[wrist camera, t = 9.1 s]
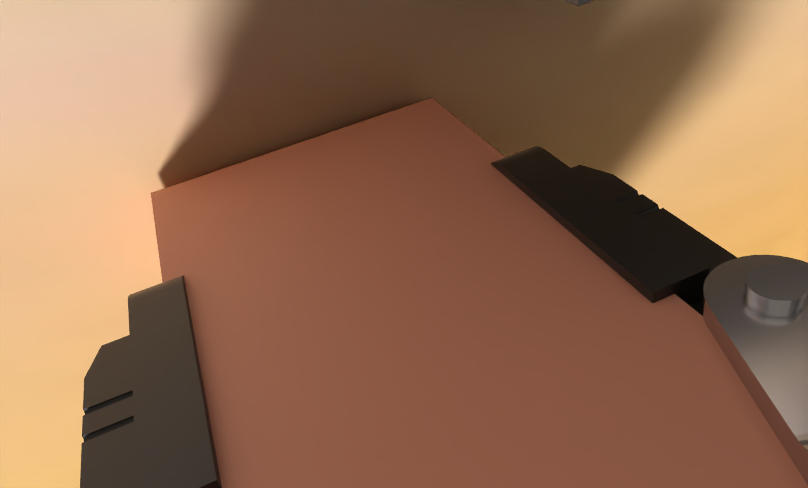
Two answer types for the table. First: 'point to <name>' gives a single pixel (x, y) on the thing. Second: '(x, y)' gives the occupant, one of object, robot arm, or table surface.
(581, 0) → the domino
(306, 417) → the domino
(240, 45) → the table surface
